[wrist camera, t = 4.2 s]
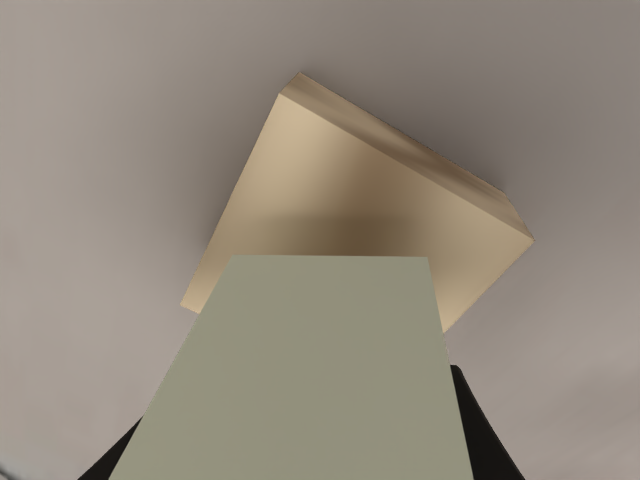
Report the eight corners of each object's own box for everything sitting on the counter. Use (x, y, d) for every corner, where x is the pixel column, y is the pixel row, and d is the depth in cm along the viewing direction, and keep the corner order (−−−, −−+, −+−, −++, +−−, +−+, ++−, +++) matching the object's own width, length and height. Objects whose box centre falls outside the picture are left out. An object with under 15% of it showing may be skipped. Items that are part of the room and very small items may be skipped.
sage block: (427, 256, 10) (479, 508, 5) (416, 395, 13) (444, 661, 8) (232, 254, 11) (108, 479, 6) (257, 387, 14) (184, 628, 8)
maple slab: (501, 189, 17) (535, 240, 13) (378, 332, 21) (379, 398, 18) (300, 70, 15) (279, 92, 12) (213, 250, 20) (179, 304, 16)
